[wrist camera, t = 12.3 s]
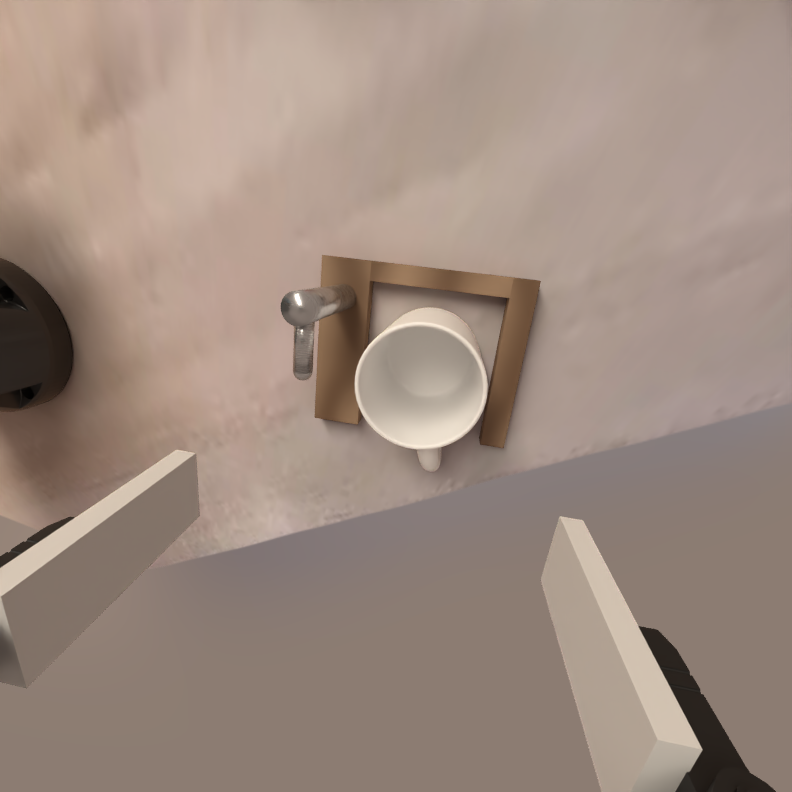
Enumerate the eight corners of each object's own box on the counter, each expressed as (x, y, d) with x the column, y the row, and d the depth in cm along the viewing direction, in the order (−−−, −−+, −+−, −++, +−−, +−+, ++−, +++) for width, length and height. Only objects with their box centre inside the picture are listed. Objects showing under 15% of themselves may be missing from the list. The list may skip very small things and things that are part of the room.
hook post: (329, 350, 33) (279, 382, 24) (333, 282, 32) (280, 288, 22) (351, 353, 33) (311, 387, 24) (357, 285, 31) (315, 293, 22)
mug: (480, 437, 35) (489, 500, 26) (390, 439, 37) (367, 500, 27) (477, 302, 32) (487, 317, 22) (378, 309, 33) (346, 326, 24)
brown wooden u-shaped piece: (320, 411, 37) (314, 417, 36) (327, 255, 32) (322, 255, 31) (501, 440, 35) (503, 448, 34) (536, 280, 31) (540, 281, 29)
